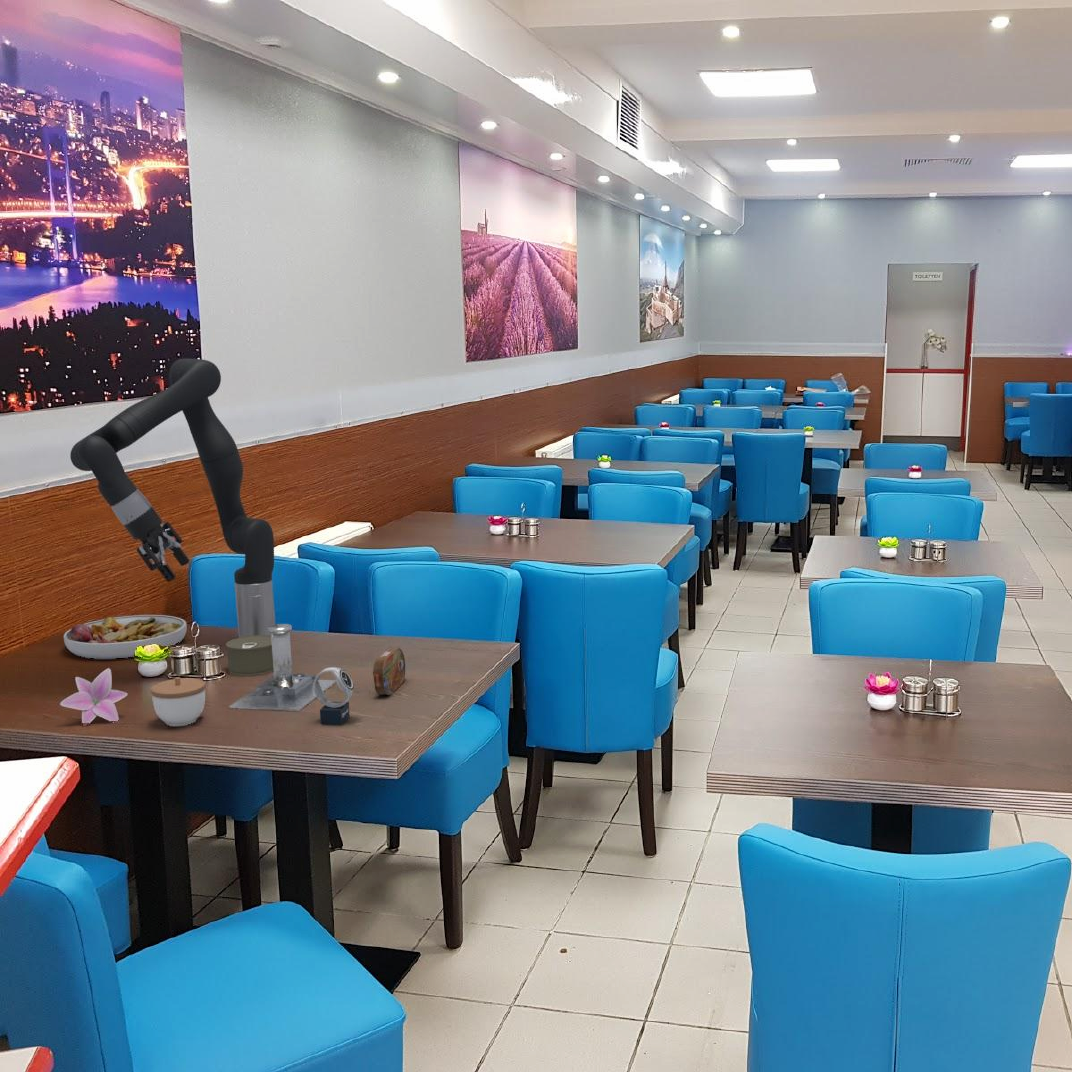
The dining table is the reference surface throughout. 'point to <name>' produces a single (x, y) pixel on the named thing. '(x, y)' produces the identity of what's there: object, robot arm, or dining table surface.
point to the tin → (389, 671)
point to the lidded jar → (179, 700)
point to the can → (250, 655)
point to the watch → (334, 710)
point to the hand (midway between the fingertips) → (179, 571)
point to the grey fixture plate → (282, 694)
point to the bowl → (123, 635)
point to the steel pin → (281, 654)
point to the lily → (95, 698)
